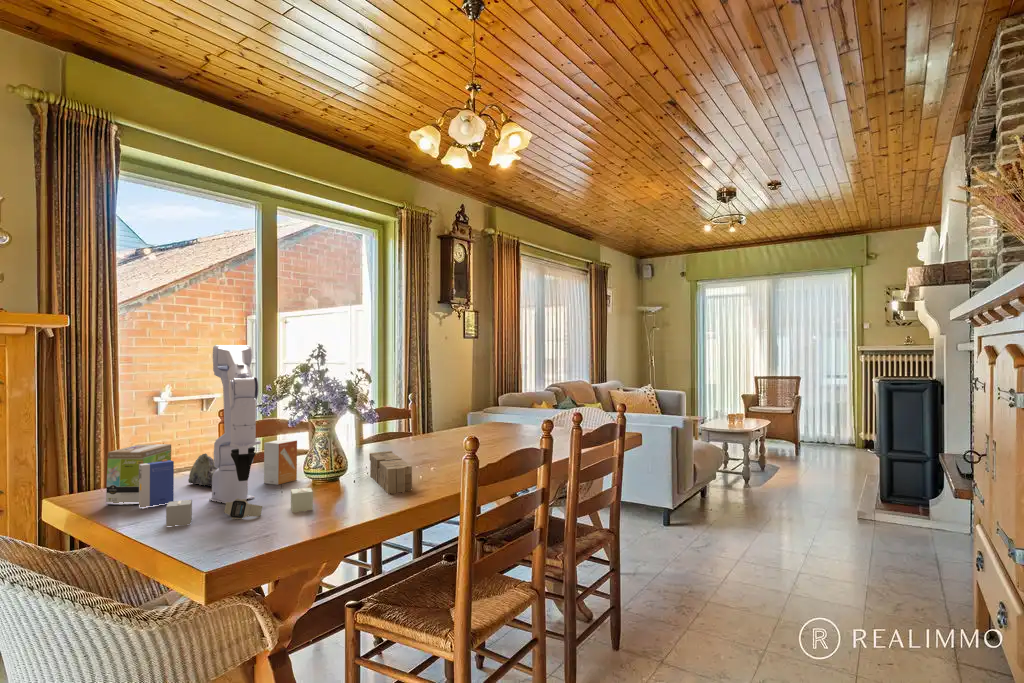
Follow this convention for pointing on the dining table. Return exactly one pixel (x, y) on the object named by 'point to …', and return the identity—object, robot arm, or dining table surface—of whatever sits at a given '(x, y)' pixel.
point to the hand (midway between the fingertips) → (243, 478)
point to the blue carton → (156, 483)
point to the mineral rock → (202, 470)
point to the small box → (280, 461)
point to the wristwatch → (242, 509)
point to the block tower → (390, 472)
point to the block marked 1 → (179, 513)
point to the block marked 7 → (301, 499)
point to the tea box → (131, 469)
